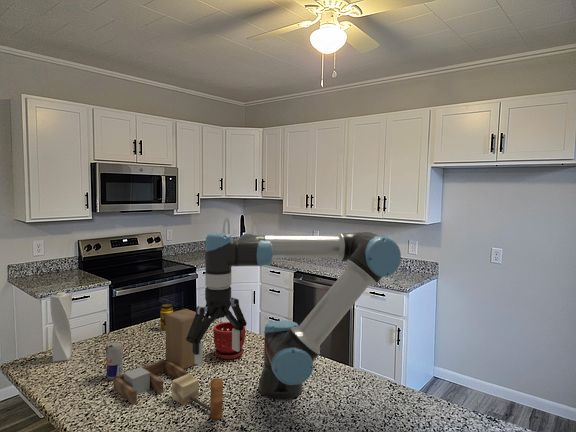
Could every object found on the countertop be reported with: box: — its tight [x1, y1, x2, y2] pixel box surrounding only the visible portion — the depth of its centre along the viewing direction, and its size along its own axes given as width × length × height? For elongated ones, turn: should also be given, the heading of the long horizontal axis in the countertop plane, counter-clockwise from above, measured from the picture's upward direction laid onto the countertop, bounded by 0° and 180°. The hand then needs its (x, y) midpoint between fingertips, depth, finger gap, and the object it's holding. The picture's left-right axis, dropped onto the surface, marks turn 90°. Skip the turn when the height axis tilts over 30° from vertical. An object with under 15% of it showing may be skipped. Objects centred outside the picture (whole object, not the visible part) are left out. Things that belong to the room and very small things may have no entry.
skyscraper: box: [47, 287, 74, 364], centre depth 151 cm, size 8×8×28 cm
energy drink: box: [105, 341, 124, 381], centre depth 138 cm, size 5×5×12 cm
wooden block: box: [165, 308, 202, 370], centre depth 150 cm, size 10×10×20 cm
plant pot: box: [212, 321, 246, 360], centre depth 159 cm, size 13×13×12 cm
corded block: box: [171, 373, 224, 421], centre depth 121 cm, size 20×6×11 cm, turn 50°
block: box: [123, 366, 151, 395], centre depth 130 cm, size 6×6×6 cm
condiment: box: [156, 303, 174, 333], centre depth 186 cm, size 7×8×12 cm
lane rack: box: [113, 358, 188, 406], centre depth 133 cm, size 14×20×4 cm
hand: (217, 357), depth 114 cm, fingers open, 13 cm apart
